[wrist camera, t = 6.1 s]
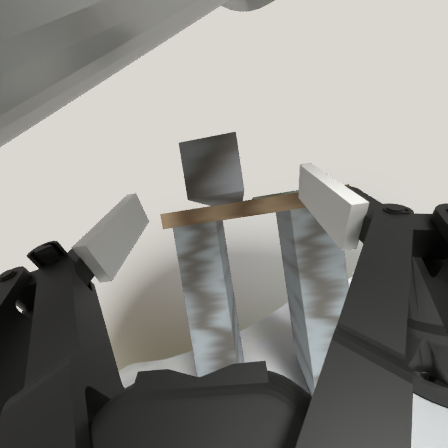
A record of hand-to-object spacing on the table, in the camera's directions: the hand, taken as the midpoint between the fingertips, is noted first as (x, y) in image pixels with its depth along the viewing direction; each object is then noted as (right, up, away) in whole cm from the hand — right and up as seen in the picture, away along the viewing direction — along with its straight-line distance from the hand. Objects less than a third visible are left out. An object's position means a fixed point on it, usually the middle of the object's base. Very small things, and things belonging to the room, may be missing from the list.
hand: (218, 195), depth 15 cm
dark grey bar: (+1, +1, +13) cm, 13 cm away
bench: (+9, -29, +16) cm, 34 cm away
